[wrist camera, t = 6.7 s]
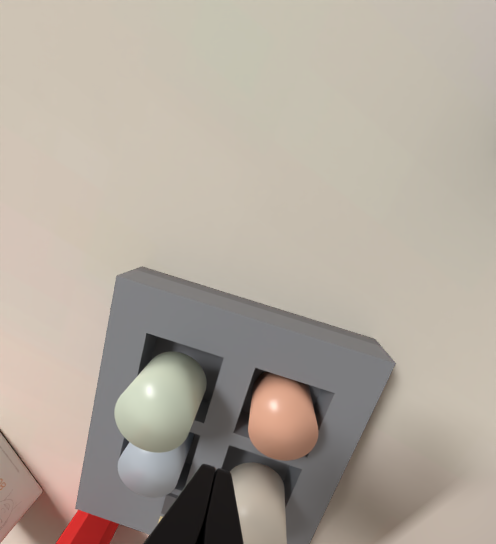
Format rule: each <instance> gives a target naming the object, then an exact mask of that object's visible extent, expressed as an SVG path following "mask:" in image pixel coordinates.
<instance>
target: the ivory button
mask: <svg viewBox="0 0 496 544" xmlns="http://www.w3.org/2000/svg"><path fill="white" fill-rule="evenodd" d="M230 473H231V475H232V480H233V486H234V491H235V497H236V503H237V508H238V514H239V520H240V525H241V531H242V537H243V542H244V544H287V538H286V514H285V491H284V484H283V481H282V479H281V477H280V476H279V475H278V473H277V472H275V471H274V470H273V469H272V468H270V467H268V466H266V465H263V464H260V463H243V464H240V465H238V466H236V467H234V468H233V469H232V470H231V471H230Z"/></svg>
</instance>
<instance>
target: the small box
mask: <svg viewBox="0 0 496 544" xmlns="http://www.w3.org/2000/svg"><path fill="white" fill-rule="evenodd" d="M42 492H43V490H42V488H41V487H40V486H39V484H38V483H37V482H36V480H35V479H34V477H33V476H32V475H31V473H30V472H29V471H28V469H27V468H26V467H25V465H24V464H23V463H22V461H21V460H20V458H19V457H18V456H17V454H16V453H15V452H14V450H13V449H12V448H11V446H10V445H9V443H8V442H7V441H6V439H5V438H4V437H3V435H2V434H1V433H0V543H1V542H2V540H3V539H4V538H5V537H6V536H7V534H8V533H9V532H10V531H11V530H12V528H13V527H14V526H15V525H16V524H17V522H18V521H19V520H20V519H21V518H22V516H23V515H24V514H25V513H26V511H27V510H28V509H29V508H30V507H31V505H32V504H33V503H34V502H35V501H36V499H37V498H38V497H39V496H40V495H41V493H42Z"/></svg>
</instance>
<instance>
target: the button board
mask: <svg viewBox="0 0 496 544" xmlns="http://www.w3.org/2000/svg"><path fill="white" fill-rule="evenodd" d="M170 351H172V352H180V353H184V354H186V355H188V356H190V357H192V358H193V359H194V360H196V361H197V362H198V363H199V365H200V366H201V367H202V369H203V371H204V373H205V376H206V381H207V385H206V391H205V393H204V396H203V399H202V401H201V404H200V406H199V409H198V411H197V414H196V416H195V419H194V421H193V424H192V426H191V429H190V432H191V433H194V437H193V441H192V444H191V446H190V449H189V452H188V455H187V457H186V460H185V463H184V466H183V468H182V471H181V474H180V477H179V479H178V482H177V485H176V487H175V488H174V490H173V491H172V492H170V493H169V494H167V495H165V496H162V497H158V498H150V497H145V496H141V495H139V494H137V493H135V492H133V491H132V490H130V489H129V488H128V487H127V486H126V485H125V484H124V483H123V481H122V480H121V478H120V476H119V473H118V461H119V458H120V456H121V455H122V453H123V451H124V450H125V448H126V447H127V445H128V444H129V441H128V440H127V439H126V438H125V437H124V436H123V435H122V434H121V432H120V430H119V429H118V427H117V424H116V421H115V415H114V411H115V405H116V402H117V400H118V398H119V397H120V396H121V394H122V393H123V392H124V391H125V390H126V389H127V388H128V386H129V385H130V384H131V383H132V382H133V381H134V379H135V378H136V377H137V376H138V375H139V374H140V373H141V371H142V370H143V369H144V368H145V367H146V366H147V364H148V363H149V362H150V361H151V360H152V359H153V358H154V357H155V356H157V355H159V354H161V353H164V352H170ZM395 364H396V363H395V362H394V361H393V359H392V358H391V357H390V356H389V355H388V354H387V352H386V351H385V350H384V349H383V348H382V347H381V345H380V344H379V343H378V342H377V341H376V340H375V339H373V338H370V337H367V336H364V335H360V334H357V333H354V332H351V331H347V330H344V329H341V328H338V327H335V326H331V325H328V324H325V323H322V322H319V321H315V320H312V319H309V318H306V317H303V316H299V315H296V314H293V313H290V312H286V311H283V310H280V309H277V308H274V307H270V306H267V305H264V304H261V303H258V302H254V301H251V300H248V299H245V298H241V297H238V296H235V295H232V294H229V293H225V292H222V291H219V290H216V289H213V288H209V287H206V286H203V285H200V284H197V283H193V282H190V281H187V280H184V279H180V278H177V277H174V276H171V275H168V274H164V273H161V272H158V271H155V270H152V269H148V268H145V267H139V268H137V269H134V270H131V271H128V272H125V273H123V274H120V275H117V276H116V282H115V287H114V293H113V299H112V304H111V310H110V316H109V321H108V327H107V333H106V338H105V344H104V349H103V355H102V361H101V366H100V372H99V378H98V383H97V389H96V395H95V400H94V406H93V412H92V417H91V423H90V428H89V434H88V440H87V445H86V451H85V457H84V462H83V468H82V474H81V479H80V485H79V491H78V496H77V502H76V508H75V509H78V510H81V511H83V512H86V513H89V514H92V515H95V516H98V517H101V518H104V519H106V520H109V521H112V522H115V523H118V524H121V525H124V526H126V527H129V528H132V529H135V530H138V531H141V532H144V533H147V534H149V535H150V534H151V533H152V531H153V530H154V528H155V527H156V526H157V524H158V523H159V522H160V520H161V519H162V518H163V516H164V515H165V513H166V512H167V511H168V509H169V508H170V507H171V505H172V504H173V503H174V501H175V500H176V498H177V497H178V496H179V494H180V493H181V492H182V490H183V489H184V488H185V486H186V485H187V483H188V482H189V481H190V479H191V478H192V477H193V475H194V474H195V473H196V471H197V470H198V468H199V467H200V466H201V465H202V464H208V465H211V466H214V467H215V468H216V470H217V469H218V468H220V469H224V470H227V471H231V470H232V469H233V468H234V467H236V466H238V465H240V464H243V463H260V464H263V465H266V466H268V467H270V468H272V469H273V470H274V471H275V472H277V473H278V475H279V476H280V477H281V479H282V481H283V484H284V491H285V514H286V538H287V544H310V542H311V540H312V537H313V535H314V533H315V531H316V529H317V527H318V525H319V523H320V521H321V519H322V517H323V514H324V512H325V510H326V508H327V506H328V504H329V502H330V500H331V498H332V496H333V494H334V491H335V489H336V487H337V485H338V483H339V481H340V479H341V477H342V475H343V473H344V471H345V468H346V466H347V464H348V462H349V460H350V458H351V456H352V454H353V452H354V450H355V448H356V445H357V443H358V441H359V439H360V437H361V435H362V433H363V431H364V429H365V427H366V425H367V422H368V420H369V418H370V416H371V414H372V412H373V410H374V408H375V406H376V404H377V402H378V399H379V397H380V395H381V393H382V391H383V389H384V387H385V385H386V383H387V381H388V379H389V376H390V374H391V372H392V370H393V368H394V366H395ZM266 371H267V372H270V373H273V374H276V375H279V376H283V377H286V378H289V379H292V380H295V381H298V382H301V383H304V384H308V386H309V389H310V393H311V398H312V402H313V407H314V412H315V416H316V421H317V425H318V440H317V442H316V444H315V446H314V448H313V449H312V450H311V451H310V452H309V453H308V454H306V455H305V456H303V457H301V458H298V459H295V460H288V461H283V460H276V459H272V458H270V457H267V456H266V455H264V454H262V453H261V452H260V451H258V450H257V449H256V447H255V446H254V445H253V444H252V442H251V440H250V437H249V433H248V425H249V416H250V408H251V399H252V391H253V386H254V383H255V381H256V380H257V378H258V377H259V376H260V375H261V374H263V373H264V372H266Z"/></svg>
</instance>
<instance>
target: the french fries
mask: <svg viewBox="0 0 496 544" xmlns="http://www.w3.org/2000/svg"><path fill="white" fill-rule="evenodd" d="M118 525H119V524H118V523H115V522H112V521H109V520H106V519H104V518H101V517H98V516H95V515H92V514H89V513H86V512H83V511H81V510H78V511H77V513H76V514H75V516H74V517H73V519H72V520H71V521H70V523H69V524H68V526H67V527H66V529H65V530H64V532H63V533H62V535H61V536H60V538H59V539H58V541H57V542H56V544H109V543H110V541H111V539H112V537H113V535H114V533H115V531H116V529H117V527H118Z"/></svg>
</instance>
